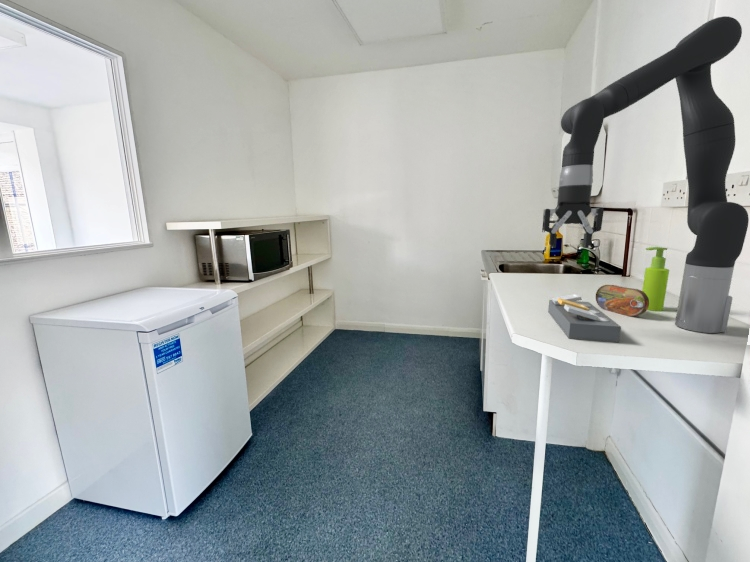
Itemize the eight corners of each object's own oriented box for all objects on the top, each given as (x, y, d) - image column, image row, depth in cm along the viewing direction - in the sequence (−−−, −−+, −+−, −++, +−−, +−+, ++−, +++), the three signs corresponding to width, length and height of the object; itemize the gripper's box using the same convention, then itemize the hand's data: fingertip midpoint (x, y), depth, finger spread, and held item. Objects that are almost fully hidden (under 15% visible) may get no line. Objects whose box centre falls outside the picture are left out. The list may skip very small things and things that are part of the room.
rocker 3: (591, 315, 90) (593, 312, 90) (596, 320, 86) (598, 316, 86) (563, 307, 91) (565, 303, 91) (567, 311, 87) (569, 307, 87)
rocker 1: (577, 296, 103) (577, 293, 102) (581, 300, 99) (581, 296, 99) (552, 301, 105) (551, 297, 105) (555, 304, 101) (554, 301, 101)
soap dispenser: (632, 306, 114) (640, 246, 110) (653, 306, 114) (662, 246, 110) (645, 311, 109) (654, 248, 105) (667, 311, 108) (678, 248, 104)
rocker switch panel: (587, 314, 106) (588, 299, 105) (618, 342, 83) (621, 323, 82) (548, 312, 108) (549, 297, 108) (568, 338, 86) (570, 320, 85)
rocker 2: (583, 308, 96) (584, 305, 96) (587, 312, 93) (589, 309, 92) (557, 301, 98) (558, 297, 98) (560, 304, 94) (562, 301, 94)
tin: (593, 307, 114) (596, 282, 112) (600, 306, 115) (603, 281, 113) (641, 319, 100) (645, 291, 99) (648, 318, 101) (653, 290, 100)
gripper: (601, 184, 91) (594, 246, 94) (542, 186, 95) (537, 246, 98) (612, 182, 84) (604, 249, 87) (548, 184, 88) (543, 248, 91)
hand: (569, 247), depth 93 cm, fingers open, 7 cm apart
